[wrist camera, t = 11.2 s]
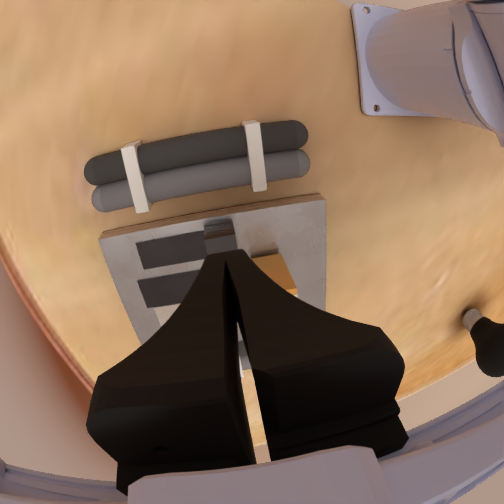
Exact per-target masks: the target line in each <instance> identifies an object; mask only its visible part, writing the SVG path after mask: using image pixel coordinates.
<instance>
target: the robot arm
mask: <svg viewBox="0 0 504 504" xmlns="http://www.w3.org/2000/svg"><path fill="white" fill-rule="evenodd" d="M363 8H366V9H367V11H368V13H365V12H364V10H363ZM351 12H352V19H353V26H354V33H355V41H356V50H357V59H358V69H359V81H360V94H361V108H362V111H363V113H364V114H366V115H370V116H428V117H443V118H447V119H452V120H455V121H459V122H463V123H467V124H470V125H474V126H477V127H481V128H484V129H487V130H490V131H493V132H494V133H495V134H496V135H497V137H498V139H499V142H500V145H501V146H502V147H504V0H452V1H446V2H441V3H436V4H431V5H427V6H422V7H418V8H414V9H410V10H406V11H405V10H400V9H395V8H389V7H384V6H378V5H371V4H364V3H355V4H353V5H352V6H351ZM375 105H376V106H377V110H376V111H374V109H373V108H374V106H375ZM237 322H238V325H239V329H240V332H241V336H242V339H243V342H244V346H245V349H246V352H247V356H248V359H249V362H250V366H251V369H252V373H253V377H254V381H255V386H256V391H257V396H258V401H259V406H260V411H261V416H262V420H263V425H264V430H265V435H266V440H267V445H268V449H269V454H270V459H271V462H266V463H260V464H257V463H256V458H255V453H254V448H253V443H252V438H251V433H250V427H249V422H248V417H247V411H246V406H245V400H244V395H243V389H242V383H241V374H240V360H239V343H238V325H237ZM404 369H405V364H404V360H403V358H402V356H401V355H400V353H399V352H398V350H397V348H396V347H395V346H394V344H393V343H392V341H391V340H390V339H389V338H388V337H387V335H386V334H385V333H384V332H383V331H382V330H381V328H380V327H376V326H372V325H367V324H363V323H359V322H355V321H351V320H348V319H345V318H342V317H339V316H336V315H333V314H331V313H328V312H326V311H323V310H321V309H319V308H316V307H314V306H312V305H310V304H308V303H306V302H304V301H302V300H300V299H299V298H297V297H295V296H294V295H292V294H291V293H289V292H288V291H286V290H285V289H283V288H282V287H281V286H280V285H278V284H277V283H276V282H274V281H273V280H272V279H271V278H270V277H269V276H268V275H266V274H265V273H264V272H263V271H262V270H261V269H260V268H259V267H258V266H257V265H256V264H255V263H254V262H253V260H252V259H251V258H250V257H249V256H248V254H247V253H246V251H244V250H243V249H237V250H231V251H226V252H220V253H214V254H209V255H207V256H206V257H205V259H204V262H203V264H202V266H201V268H200V271H199V273H198V275H197V277H196V278H195V280H194V282H193V284H192V286H191V287H190V289H189V291H188V292H187V294H186V295H185V297H184V299H183V300H182V302H181V303H180V305H179V306H178V307H177V309H176V310H175V311H174V313H173V314H172V315H171V317H170V318H169V319H168V320H167V321H166V322H165V323H164V324H163V325H162V327H161V328H160V329H159V330H158V331H157V332H156V333H155V334H154V335H153V336H152V337H151V338H150V339H148V340H147V341H146V342H145V343H144V344H143V345H142V346H140V347H139V348H138V349H137V350H136V351H134V352H133V353H132V354H130V355H129V356H128V357H127V358H125V359H124V360H122V361H121V362H119V363H118V364H116V365H115V366H113V367H112V368H110V369H109V370H107V371H106V372H104V373H103V374H101V375H99V376H98V378H97V381H96V384H95V387H94V390H93V394H92V399H91V403H90V407H89V412H88V418H87V422H86V427H87V431H88V433H89V434H90V436H91V437H92V438H93V439H94V441H95V442H96V443H97V444H98V445H99V446H100V447H101V448H102V449H103V450H104V451H105V452H107V453H108V454H109V455H110V456H111V457H112V458H113V459H114V460H115V461H117V462H118V467H117V481H116V482H114V481H100V480H91V479H82V478H74V477H66V476H60V475H54V474H49V473H44V472H39V471H34V470H29V469H24V468H20V467H16V466H12V465H8V464H6V463H5V462H4V461H3V460H2V459H1V458H0V504H449V503H451V502H452V501H454V500H456V499H457V498H459V497H461V496H462V495H464V494H465V493H467V492H469V491H470V490H471V489H473V488H475V487H476V486H477V485H479V484H481V483H482V482H484V481H485V480H486V479H488V478H489V477H491V476H492V475H493V474H495V473H496V472H497V471H499V470H500V469H501V468H502V467H504V380H503V381H501V382H500V383H499V384H497V385H495V386H494V387H492V388H490V389H489V390H487V391H486V392H484V393H482V394H480V395H479V396H477V397H475V398H474V399H472V400H470V401H468V402H466V403H465V404H463V405H461V406H459V407H457V408H455V409H453V410H451V411H449V412H447V413H446V414H444V415H441V416H439V417H437V418H435V419H433V420H431V421H429V422H427V423H425V424H422V425H420V426H418V427H416V428H413V429H411V430H409V431H405V429H404V427H403V425H402V423H401V421H400V419H399V417H398V414H399V413H400V408H399V406H398V404H397V402H396V400H395V396H396V393H397V391H398V388H399V386H400V383H401V380H402V377H403V374H404Z"/></svg>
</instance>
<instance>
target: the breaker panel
mask: <svg viewBox="0 0 504 504" xmlns="http://www.w3.org/2000/svg"><path fill="white" fill-rule="evenodd" d="M98 240H99V243H100V246H101V249H102V252H103V255H104V257H105V260H106V263H107V265H108V268H109V271H110V273H111V276H112V278H113V281H114V283H115V286H116V288H117V291H118V293H119V296H120V298H121V300H122V303H123V305H124V307H125V310H126V312H127V314H128V317H129V319H130V321H131V323H132V326H133V328H134V330H135V332H136V334H137V336H138V339H139V341H140V343H141V345H143V344H144V343H145V342H146V341H147V340H148V339H150V338H151V337H152V336H153V335H154V334H155V333H156V332H157V331H158V330H159V329H160V328H161V327H162V325H163V324H164V323H165V322H166V321H167V320H168V319H169V318H170V317H171V315H172V314H173V313H174V311H175V310H176V309H177V307H178V306H179V305H180V303H181V302H182V300H183V299H184V297H185V295H186V294H187V292H188V291H189V289H190V287H191V286H192V284H193V282H194V280H195V278H196V277H197V275H198V273H199V271H200V268H201V266H202V264H203V262H204V259H205V257H206V256H207V255H209V254H214V253H220V252H226V251H231V250H237V249H243V250H244V251H246V253H247V254H248V256H249V257H250V258H251V259H252V258H258V257H264V256H269V255H275V254H281V255H282V257H283V259H284V261H285V263H286V265H287V268H288V270H289V272H290V274H291V276H292V279H293V281H294V283H295V285H296V287H297V294H298V298H299V299H300V300H302V301H304V302H306V303H308V304H310V305H312V306H314V307H316V308H319V309H321V310H323V311H325V301H326V203H325V199H324V198H323V197H322V196H321V195H320V194H313V195H306V196H299V197H292V198H285V199H278V200H272V201H265V202H259V203H253V204H247V205H241V206H235V207H229V208H223V209H217V210H211V211H206V212H200V213H195V214H189V215H184V216H179V217H173V218H168V219H163V220H158V221H153V222H148V223H143V224H138V225H133V226H128V227H124V228H119V229H114V230H110V231H105V232H103V233H102V234H101V236H100V238H99V239H98ZM237 325H238V322H237ZM239 341H243V339H242V336H241V332H240V329H239V325H238V342H239Z"/></svg>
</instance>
